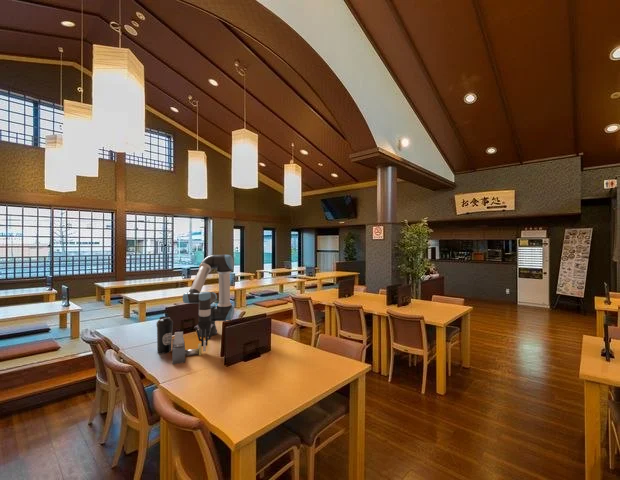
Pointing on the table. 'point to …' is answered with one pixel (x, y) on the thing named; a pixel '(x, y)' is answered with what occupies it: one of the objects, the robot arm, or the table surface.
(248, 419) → the table surface
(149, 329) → the table surface
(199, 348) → the lynch pin
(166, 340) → the water bottle
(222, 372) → the table surface
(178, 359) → the hitch beam
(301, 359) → the table surface
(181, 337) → the plate
